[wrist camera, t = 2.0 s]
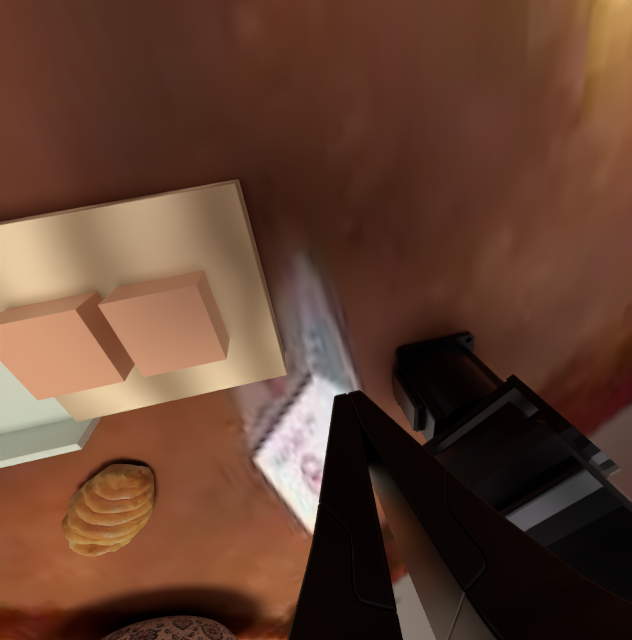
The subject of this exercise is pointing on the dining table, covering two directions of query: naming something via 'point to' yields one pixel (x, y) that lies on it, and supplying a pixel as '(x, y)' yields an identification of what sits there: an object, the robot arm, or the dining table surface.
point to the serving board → (146, 265)
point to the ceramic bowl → (173, 630)
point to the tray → (35, 424)
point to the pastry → (109, 509)
